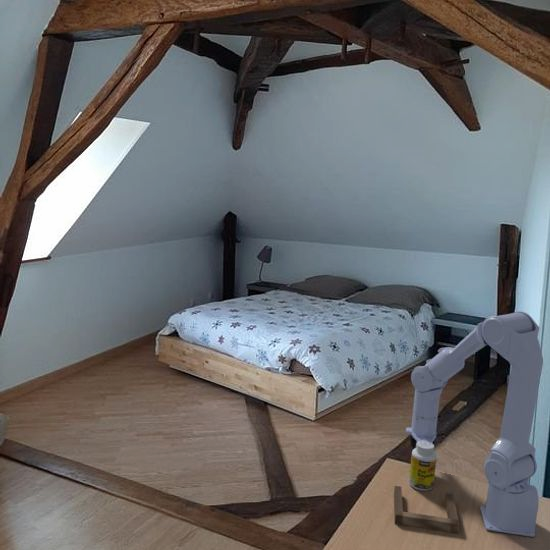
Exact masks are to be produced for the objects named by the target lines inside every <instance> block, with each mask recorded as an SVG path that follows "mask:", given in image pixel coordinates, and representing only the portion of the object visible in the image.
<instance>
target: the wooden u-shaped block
mask: <svg viewBox="0 0 550 550" xmlns="http://www.w3.org/2000/svg"><path fill="white" fill-rule="evenodd" d="M444 505H445V506H444V507H445V511H446V517H441V516H434V515H428V514H421V513H414V512H407V511H404V509H403V490H402V486H399V485H394V487H393V507H394V508H393V509H394V511H393V512H394V524H396V525H401V526H402V525H403V526H408V527H409V526H410V527H415V528H422V529H426V530H427V529H428V530H435V531H442V532H448V533H453V534H459V528H460V522H459V518H458V514H457V512H458V511H457V508H456V502H455V499H454V494H453V493H447V492H445V496H444Z"/></svg>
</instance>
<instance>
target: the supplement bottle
mask: <svg viewBox="0 0 550 550" xmlns="http://www.w3.org/2000/svg"><path fill="white" fill-rule="evenodd" d="M420 442H421V443H420ZM429 443H430V442H428V441H426V445H428V446H424V445H425V443H424V441H418V442H417V444H416V448H415V449H413V448H412V452H411V457H410V458H411V459H410V466H409V467H410V468H409V476H408V483H409V485H410V486H411V487H412V488H413V489H414V490H415V489H416V490H417V491H423V492H426V491H430V490H432V489H433V487H434V483H435V475H436V468H437V459H438V456H437V453H436V452H435V448H434V444H433V443H430V446H429ZM421 444H422V445H421Z"/></svg>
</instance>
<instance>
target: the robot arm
mask: <svg viewBox="0 0 550 550" xmlns="http://www.w3.org/2000/svg"><path fill="white" fill-rule="evenodd" d="M539 333H540V326H539V325H538V324H537V322H536V320H534V319H533V317H532V316H531V315H529V314H528V313H527V312H525V311H515V312H511V313H508V314H502V315H501V314H500V315H491V316H489V317H486V318H485V319H484V320H483V321H481V322H479V323H477V325H476V327H475V328H474V329H473V330H471V332H470V333H469V334H467V335H466V336H465V337H464V338H462V340H461V341H459V343H458V344H457V345H455V346H454V347H451V346H450V347H449V346H447V347H441V348H439V349H438V350H437V352H438V353H437V354H435V356H434V357H432V358H429V359H427V360H426V361H425V362H426V363H425V365H422V366H421V365H419V366H415V367H414V369H413V370H412V372H411V375H410V381H411V384H412V386H413V387H414V399H413V408H412V417H411V418H412V420H411V426H410V427H406V428H405V433H406V434H407V435H409V437H410V445H411V448H412V450H413V449H415V448H416V444H417V442H418V441H424V443H425V445H424V446H428V445H426V441H428V442H430V443H433V444H434V449H435V447H436V443H435V439H436V438H437V434H438V433H437V426H438V418H439V417H438V415H439V408H440V407H439V406H440V397H441V394H443V389H444V387H446V385H447V383H448V381H449V379H451V378H452V377H453V376H455V375H456V374H458V373H459V372H460V371H461V370H463V369H464V367H465V363H466V362H465V361H466V359H468V358H469V357H471V356H472V355H474V354H475V353H476V352H479V350H482V349H483V348H485V347H486V346H489V347H490V348H492V349H493V350H494V351H496V353H498V354H499V355H500V356H501V357H502V358H503V359H505V360H506V361H508V363H509V365H511V366H510V367H511V368H510V372H509V373H510V374H509V380H508V386H507V391H506V392H507V393H506V397H505V403H504V411H503V415H502V423H501V428H500V434H499V438H498V439H497V440H496V441H495V443H494V444H493V446H492V447H491V448H490V452H489V456H488V457H487V458H486V459H485V461H484V463H483V472H484V476H485V478H486V479H487V482H488V488H487V495H486V501H485V502H486V503H485V505H481V506H480V507H479V509H480V512H481V516H482V520H483V524H484V527H485V529H486V530H487V531H490V532H492V531H493V532H497V533H506V534H511V535H519V536H525V537H532V538H534V537H535V536H536V533H535V531H536V526H537V525H536V523H537V519H538V518H537V517H538V512H539V493H538V489H537V487H536V486H535V485H533V484H530V483H529V479H530V478H531V477H534V475H535V474H536V473H537V469H538V465H537V464H538V463H537V460H536V447H535V446H534V445H533V444H532V443H530V439H531V434H532V433H531V432H532V428H533V421H534V417H535V412H536V411H535V410H536V405H537V398H538V393H539V389H540V388H539V387H540V383H541V382H540V381H541V376H542V371H543V366H544V357H543V353H542V349H541V345H540V341H539ZM420 443H421V442H420ZM430 443H429V446H430ZM421 445H422V444H421Z"/></svg>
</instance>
